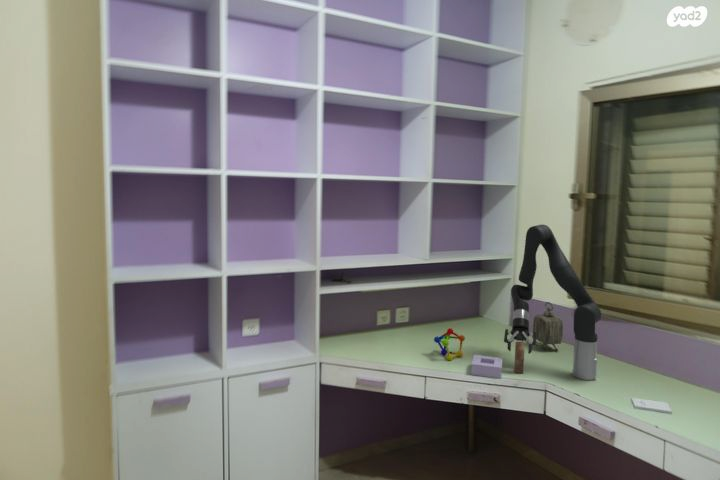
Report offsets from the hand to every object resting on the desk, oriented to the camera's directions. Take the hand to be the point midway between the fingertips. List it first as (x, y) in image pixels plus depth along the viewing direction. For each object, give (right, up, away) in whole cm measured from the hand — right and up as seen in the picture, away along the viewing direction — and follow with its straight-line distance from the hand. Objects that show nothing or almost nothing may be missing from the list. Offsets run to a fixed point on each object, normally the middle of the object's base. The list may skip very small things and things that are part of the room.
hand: (519, 351), depth 223 cm
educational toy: (-30, -7, +20) cm, 36 cm away
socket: (-15, -9, +1) cm, 18 cm away
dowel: (0, -10, 0) cm, 10 cm away
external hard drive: (+40, -14, -34) cm, 54 cm away
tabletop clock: (+26, -7, +35) cm, 44 cm away
